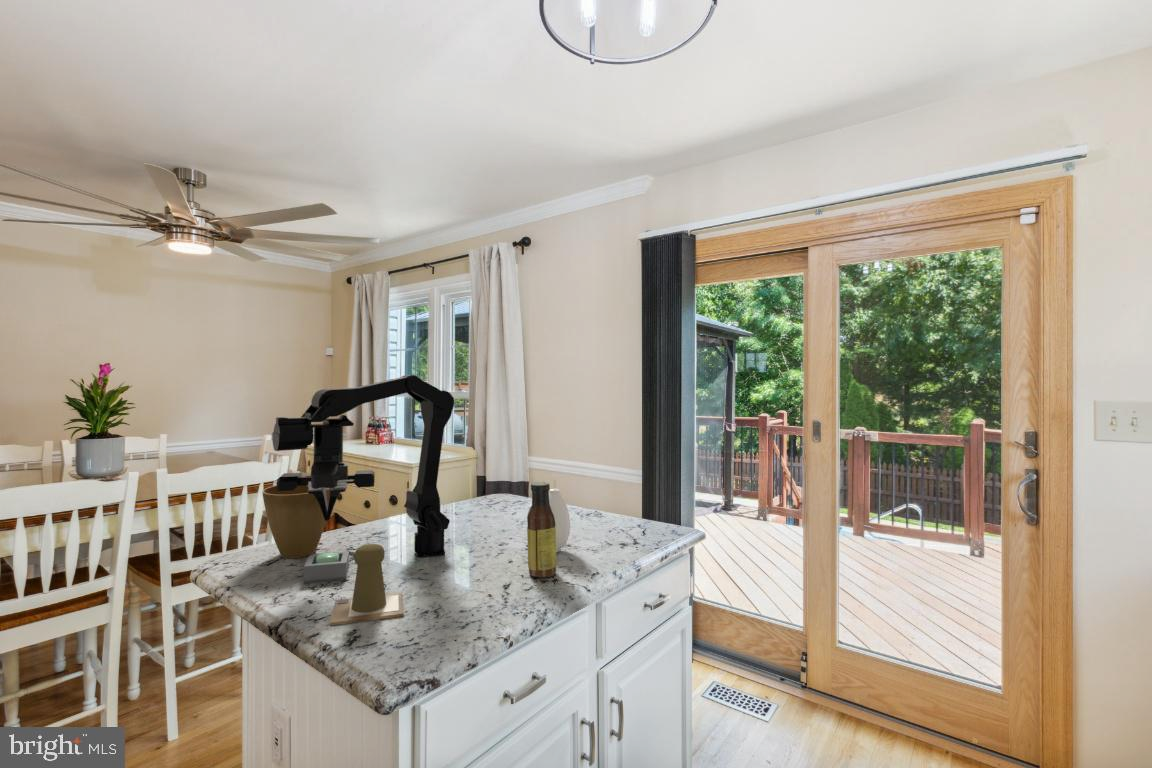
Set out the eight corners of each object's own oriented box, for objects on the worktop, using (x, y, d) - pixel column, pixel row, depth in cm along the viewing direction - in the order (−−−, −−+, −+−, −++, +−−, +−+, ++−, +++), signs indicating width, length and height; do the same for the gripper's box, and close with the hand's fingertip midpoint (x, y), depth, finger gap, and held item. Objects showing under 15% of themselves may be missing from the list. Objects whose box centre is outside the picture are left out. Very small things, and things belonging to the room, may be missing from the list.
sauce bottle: (560, 571, 119) (561, 481, 119) (549, 580, 113) (551, 487, 113) (533, 567, 121) (534, 479, 121) (521, 576, 115) (522, 484, 115)
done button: (339, 565, 118) (339, 551, 118) (337, 572, 114) (337, 558, 114) (317, 567, 116) (317, 553, 116) (314, 574, 112) (315, 560, 112)
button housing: (349, 566, 120) (349, 551, 120) (346, 579, 113) (346, 562, 113) (309, 570, 118) (309, 554, 117) (303, 583, 110) (304, 566, 110)
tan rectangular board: (402, 594, 105) (402, 591, 105) (403, 616, 95) (403, 612, 95) (335, 602, 101) (335, 599, 101) (329, 625, 91) (329, 621, 91)
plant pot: (284, 543, 136) (285, 480, 136) (342, 545, 136) (343, 482, 136) (247, 563, 121) (247, 493, 121) (311, 565, 121) (312, 494, 121)
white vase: (551, 558, 127) (552, 483, 127) (531, 550, 133) (532, 478, 133) (575, 552, 132) (576, 479, 132) (555, 544, 138) (556, 474, 138)
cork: (383, 611, 96) (384, 549, 96) (347, 613, 95) (348, 551, 95) (388, 597, 102) (389, 540, 102) (355, 599, 101) (355, 541, 101)
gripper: (271, 453, 104) (270, 534, 104) (373, 451, 110) (372, 527, 110) (282, 447, 115) (281, 519, 115) (375, 445, 121) (374, 514, 121)
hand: (327, 520), depth 115 cm, fingers closed
